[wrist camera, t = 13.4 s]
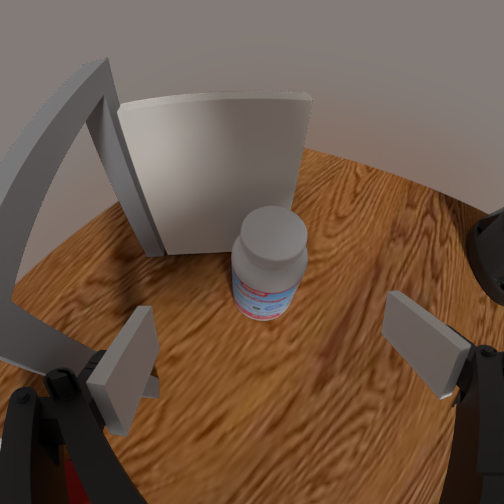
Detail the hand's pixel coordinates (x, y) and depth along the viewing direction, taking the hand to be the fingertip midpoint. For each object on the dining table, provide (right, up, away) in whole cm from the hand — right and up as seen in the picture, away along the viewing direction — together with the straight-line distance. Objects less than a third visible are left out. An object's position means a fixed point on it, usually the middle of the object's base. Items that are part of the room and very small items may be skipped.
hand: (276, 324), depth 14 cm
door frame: (-12, -3, +13) cm, 17 cm away
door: (-4, +5, +17) cm, 18 cm away
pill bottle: (0, -1, +15) cm, 15 cm away
